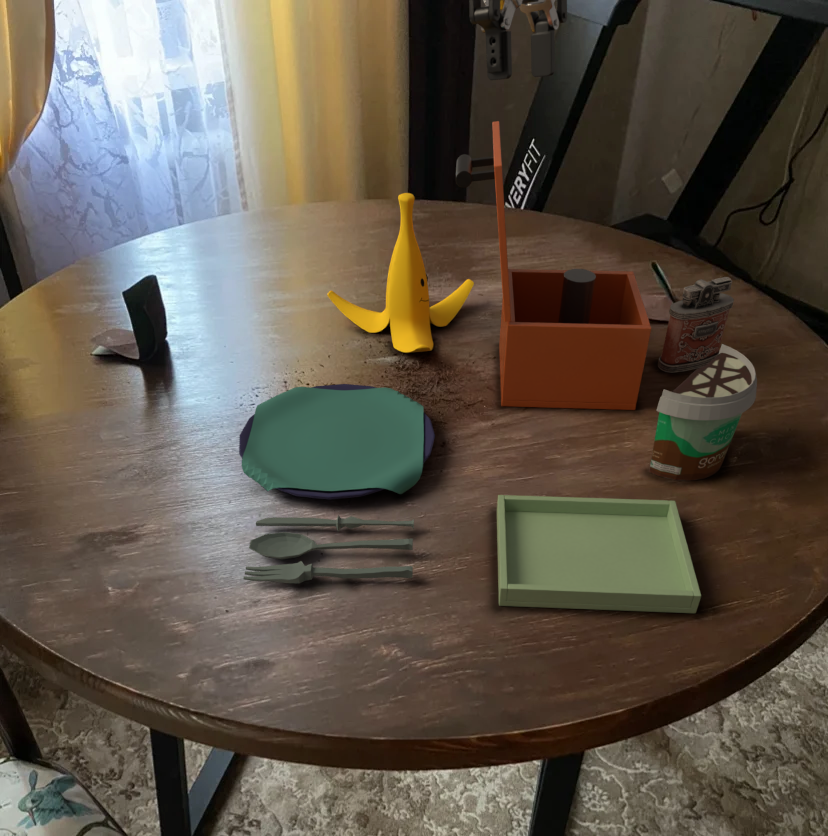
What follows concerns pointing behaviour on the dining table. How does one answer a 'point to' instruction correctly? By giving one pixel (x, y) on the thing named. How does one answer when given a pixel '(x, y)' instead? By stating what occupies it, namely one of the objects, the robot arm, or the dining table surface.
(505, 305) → the box lid
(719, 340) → the lighter
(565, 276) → the black cylinder
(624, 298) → the orange open box
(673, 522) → the tray
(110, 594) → the dining table surface
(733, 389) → the food container
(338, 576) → the cutlery set
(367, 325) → the banana peel
